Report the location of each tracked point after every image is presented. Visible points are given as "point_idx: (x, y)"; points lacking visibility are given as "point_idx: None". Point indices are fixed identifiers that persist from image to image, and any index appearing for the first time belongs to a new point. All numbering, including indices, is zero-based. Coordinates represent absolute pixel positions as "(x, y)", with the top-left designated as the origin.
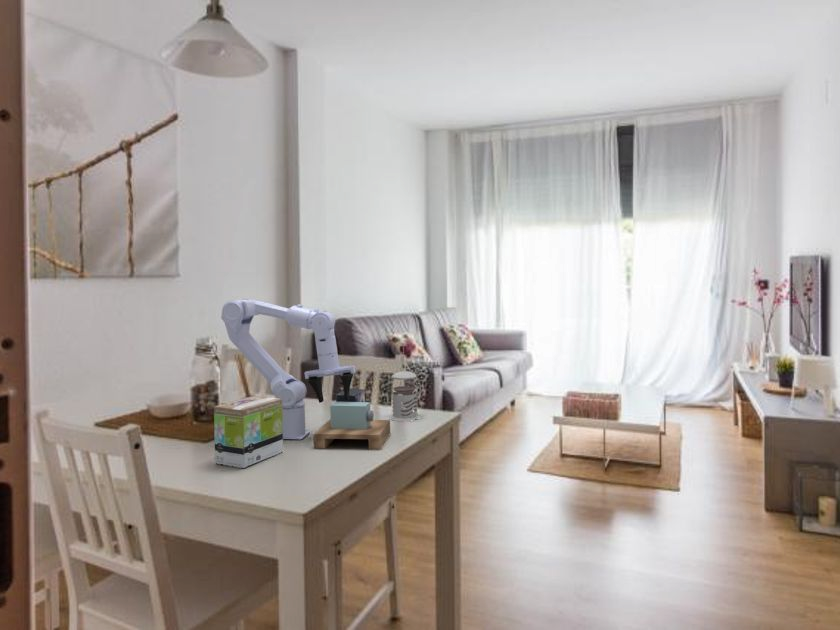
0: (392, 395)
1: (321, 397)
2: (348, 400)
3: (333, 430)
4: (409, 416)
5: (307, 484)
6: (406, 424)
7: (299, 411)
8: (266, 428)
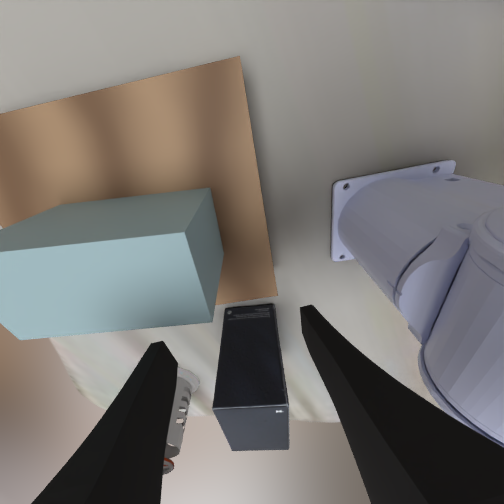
0: (178, 438)
1: (311, 338)
2: (237, 385)
3: (179, 157)
4: None
5: None
6: (134, 354)
7: (401, 244)
8: None
